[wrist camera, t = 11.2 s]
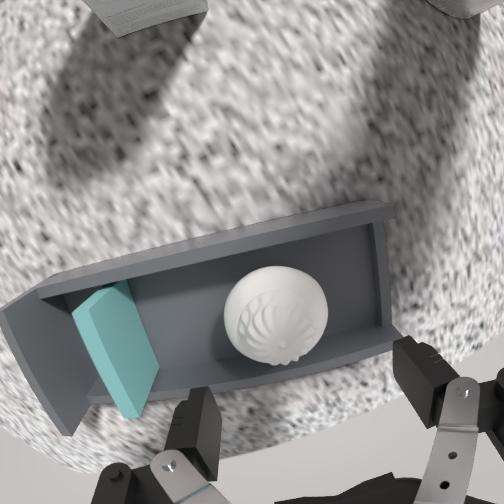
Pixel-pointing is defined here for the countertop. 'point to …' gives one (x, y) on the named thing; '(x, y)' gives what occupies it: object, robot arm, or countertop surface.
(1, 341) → the countertop surface
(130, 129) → the countertop surface
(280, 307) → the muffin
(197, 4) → the supplement box
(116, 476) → the robot arm
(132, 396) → the teal flat slab
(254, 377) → the pusher lane
